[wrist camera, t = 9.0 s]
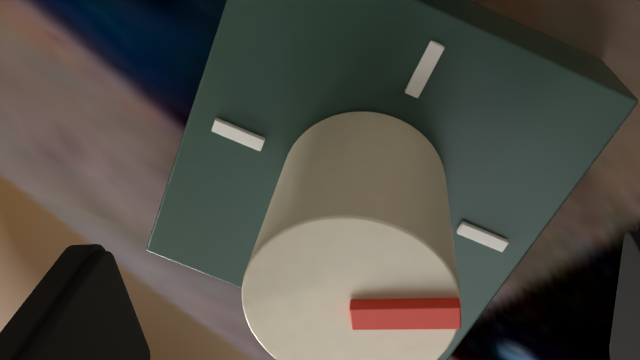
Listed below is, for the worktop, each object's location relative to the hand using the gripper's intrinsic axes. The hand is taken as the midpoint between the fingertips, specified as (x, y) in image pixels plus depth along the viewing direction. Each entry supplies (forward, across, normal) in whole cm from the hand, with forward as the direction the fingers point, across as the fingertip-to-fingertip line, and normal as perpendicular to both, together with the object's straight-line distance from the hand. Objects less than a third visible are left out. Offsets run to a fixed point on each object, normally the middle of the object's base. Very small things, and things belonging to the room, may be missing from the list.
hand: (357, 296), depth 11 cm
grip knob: (+6, 0, +1) cm, 6 cm away
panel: (+9, 0, +1) cm, 9 cm away
